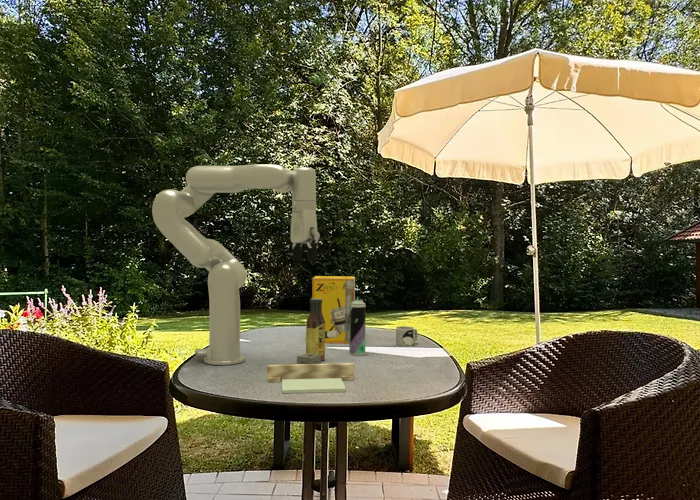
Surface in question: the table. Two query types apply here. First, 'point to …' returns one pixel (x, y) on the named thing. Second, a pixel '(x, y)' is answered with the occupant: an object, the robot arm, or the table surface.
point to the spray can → (357, 327)
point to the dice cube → (309, 359)
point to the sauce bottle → (315, 329)
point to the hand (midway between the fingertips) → (304, 261)
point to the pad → (313, 385)
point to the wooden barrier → (310, 371)
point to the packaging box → (335, 305)
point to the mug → (405, 336)
